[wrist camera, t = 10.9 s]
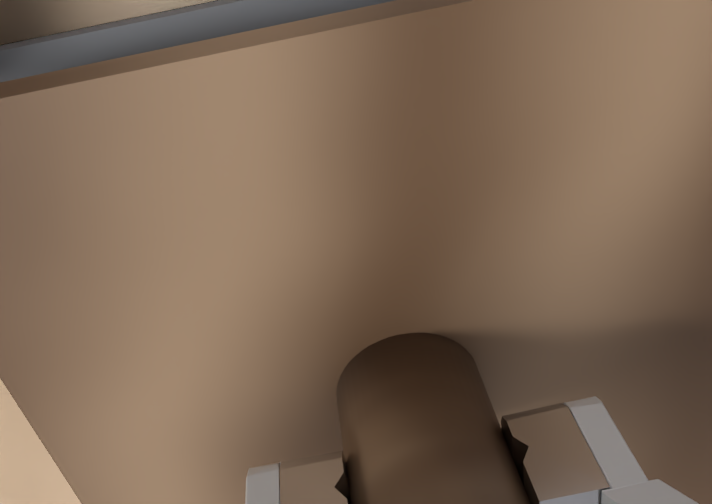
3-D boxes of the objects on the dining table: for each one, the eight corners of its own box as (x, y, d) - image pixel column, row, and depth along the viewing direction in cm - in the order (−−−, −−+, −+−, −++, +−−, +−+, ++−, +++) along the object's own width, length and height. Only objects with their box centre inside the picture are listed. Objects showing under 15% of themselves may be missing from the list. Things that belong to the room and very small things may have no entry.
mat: (710, -102, 11) (724, -100, 10) (650, 432, 18) (657, 443, 18) (-75, 60, 11) (-85, 68, 10) (178, 531, 18) (176, 545, 18)
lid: (800, -84, 9) (1410, 18, 4) (695, 498, 16) (878, 784, 11) (-129, 109, 9) (-579, 434, 4) (175, 607, 16) (137, 941, 11)
